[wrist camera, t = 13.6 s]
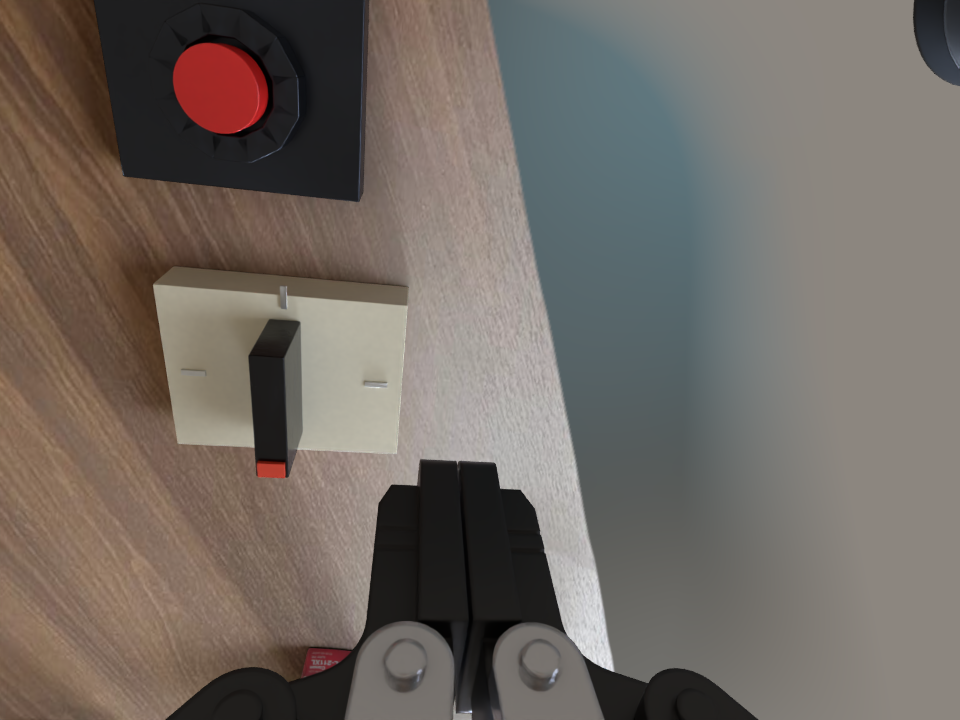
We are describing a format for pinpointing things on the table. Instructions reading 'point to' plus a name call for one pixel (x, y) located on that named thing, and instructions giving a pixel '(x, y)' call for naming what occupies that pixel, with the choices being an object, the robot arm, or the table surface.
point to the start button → (220, 87)
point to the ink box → (322, 660)
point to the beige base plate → (324, 355)
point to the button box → (291, 93)
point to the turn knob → (276, 397)
